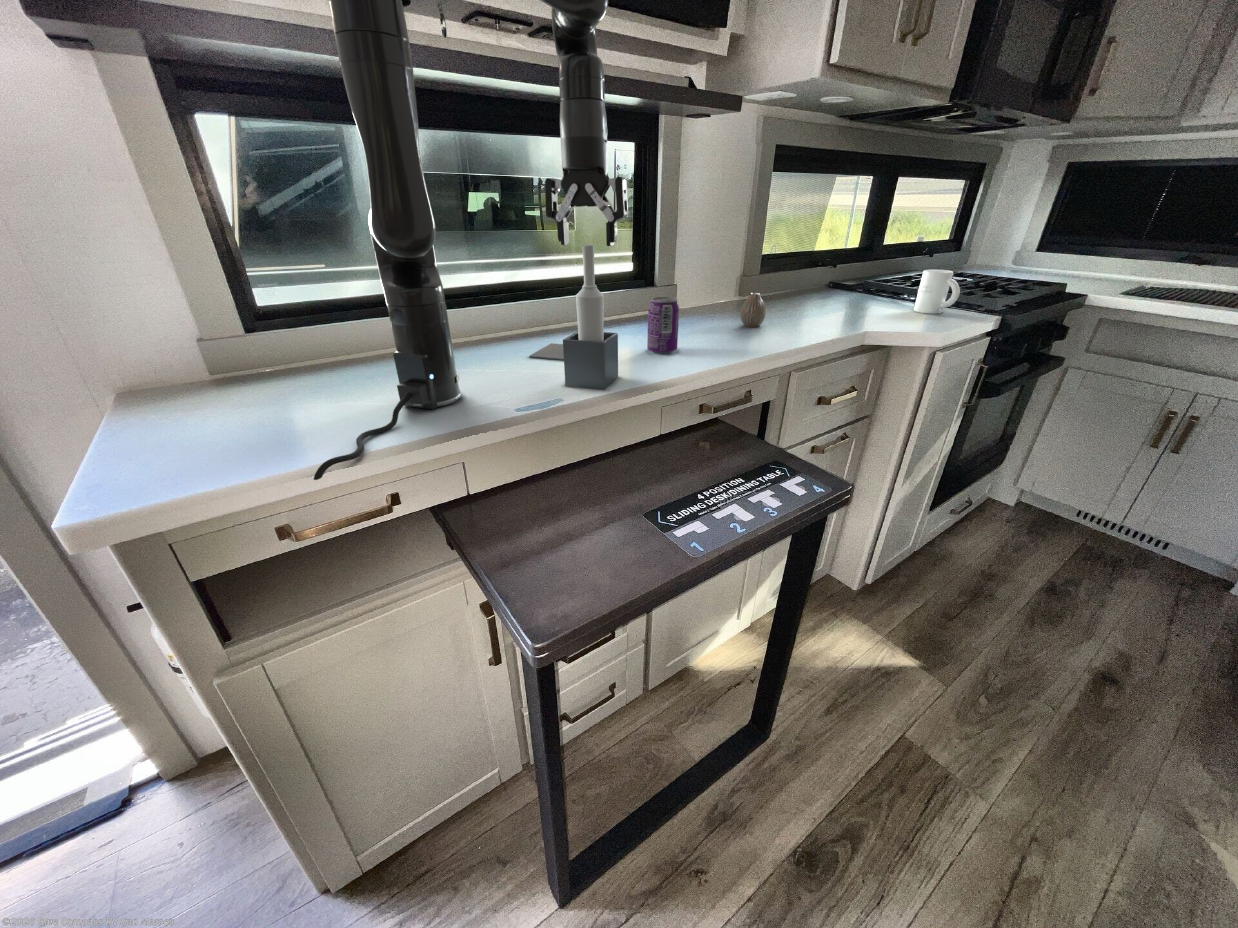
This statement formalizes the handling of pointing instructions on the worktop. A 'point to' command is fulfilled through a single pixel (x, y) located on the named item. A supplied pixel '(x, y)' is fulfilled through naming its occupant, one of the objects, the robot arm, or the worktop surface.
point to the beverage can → (663, 325)
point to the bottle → (590, 302)
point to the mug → (936, 291)
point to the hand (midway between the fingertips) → (587, 245)
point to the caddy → (591, 361)
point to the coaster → (550, 352)
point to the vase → (753, 311)
